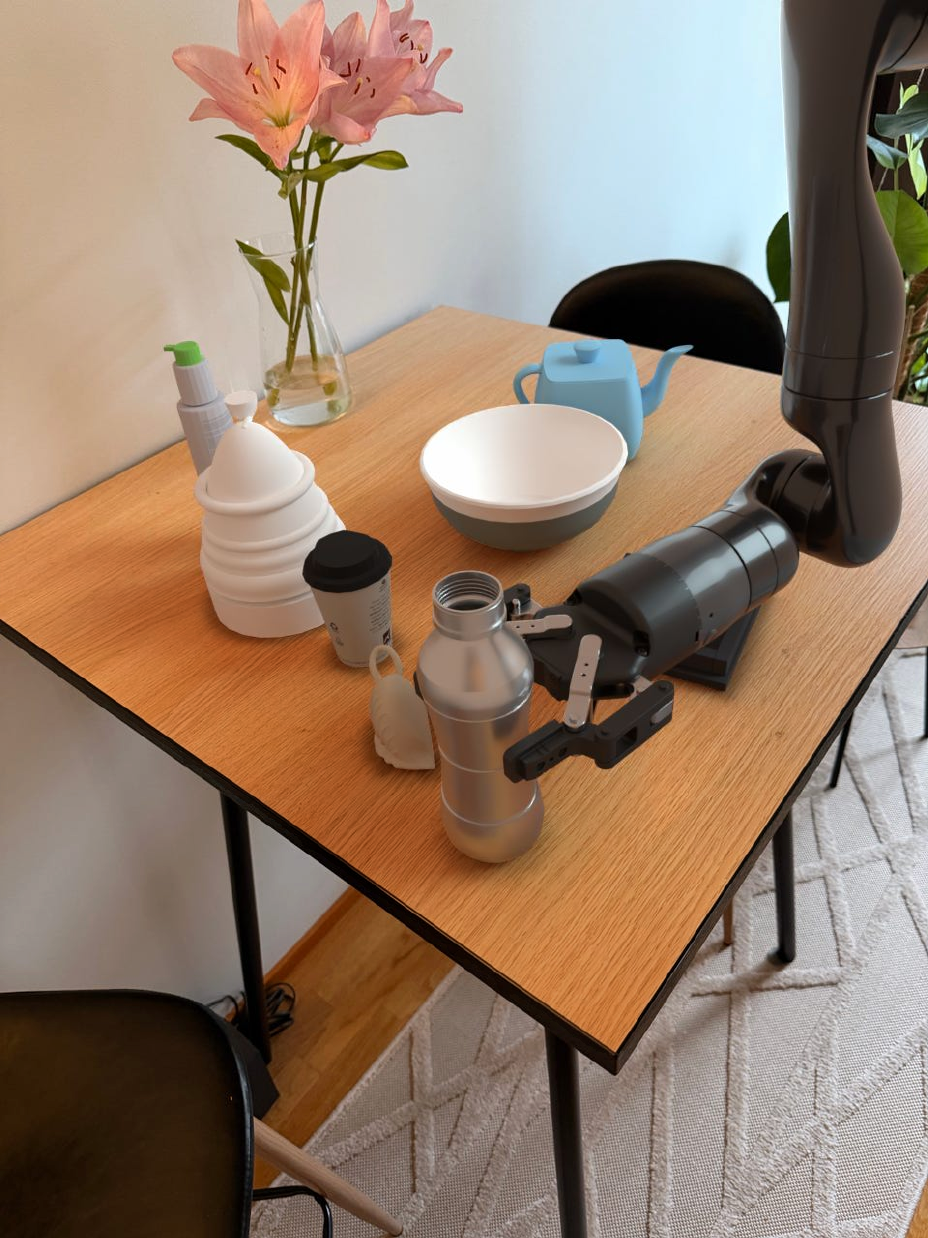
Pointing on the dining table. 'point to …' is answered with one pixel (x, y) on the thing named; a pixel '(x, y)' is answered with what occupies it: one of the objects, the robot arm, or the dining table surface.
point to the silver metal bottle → (479, 717)
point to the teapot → (600, 383)
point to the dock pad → (715, 655)
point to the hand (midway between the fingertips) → (460, 726)
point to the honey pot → (260, 528)
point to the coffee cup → (352, 593)
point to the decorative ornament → (399, 718)
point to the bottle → (199, 403)
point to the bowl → (524, 474)
